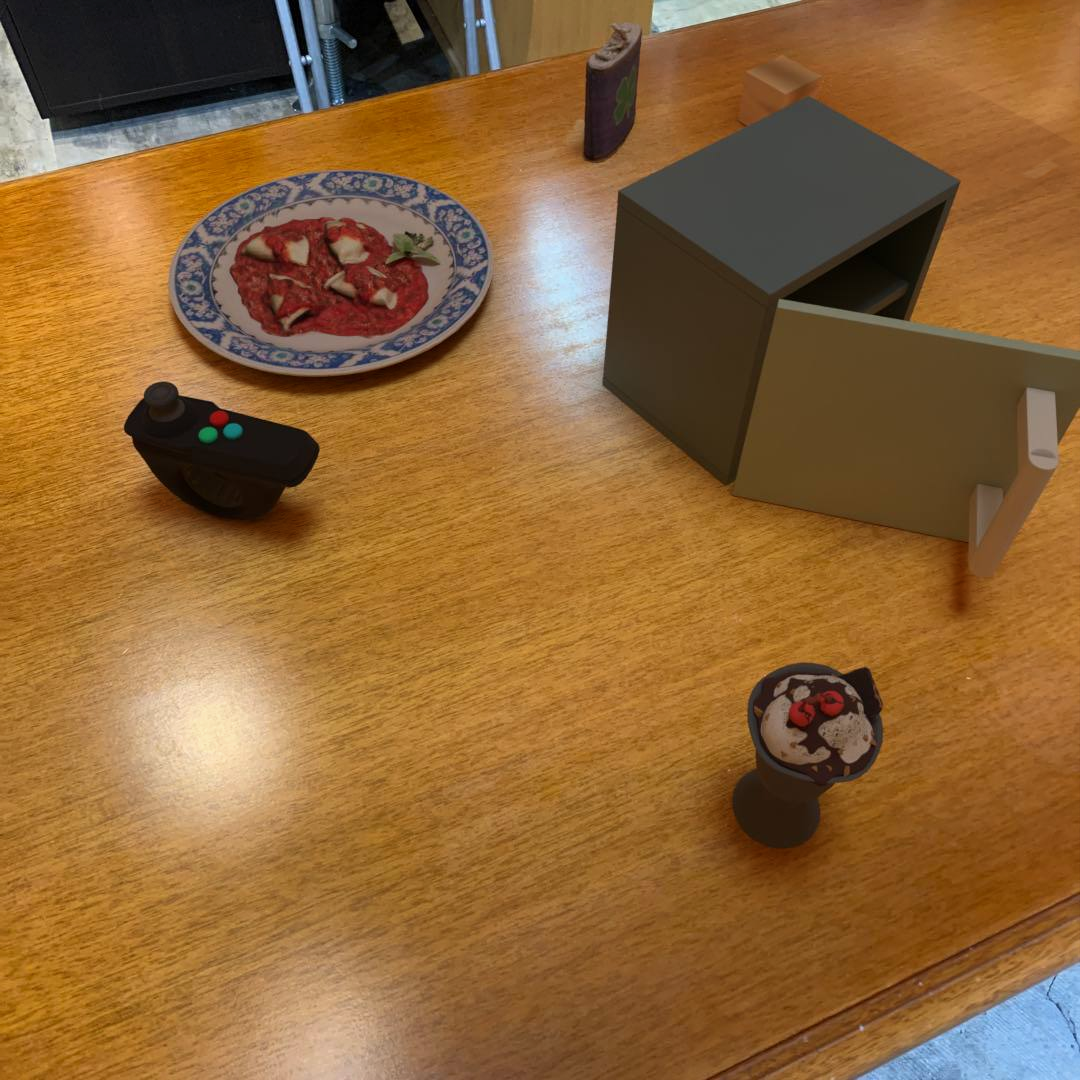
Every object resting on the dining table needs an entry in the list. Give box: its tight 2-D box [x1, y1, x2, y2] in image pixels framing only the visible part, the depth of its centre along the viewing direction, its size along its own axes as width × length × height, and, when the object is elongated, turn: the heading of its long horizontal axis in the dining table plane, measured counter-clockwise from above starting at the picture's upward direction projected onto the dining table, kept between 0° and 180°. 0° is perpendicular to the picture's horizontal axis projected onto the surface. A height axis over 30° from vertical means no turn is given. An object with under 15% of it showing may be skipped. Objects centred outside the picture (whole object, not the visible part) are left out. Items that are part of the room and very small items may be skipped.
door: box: [732, 299, 1080, 579], centre depth 66 cm, size 7×18×17 cm, turn 76°
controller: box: [123, 381, 321, 522], centre depth 70 cm, size 4×12×10 cm, turn 73°
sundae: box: [731, 661, 884, 850], centre depth 55 cm, size 7×7×15 cm
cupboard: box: [601, 96, 962, 487], centre depth 76 cm, size 13×18×17 cm
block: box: [737, 54, 822, 127], centre depth 102 cm, size 5×5×5 cm
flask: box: [582, 21, 643, 163], centre depth 98 cm, size 9×3×11 cm, turn 155°
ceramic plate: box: [167, 169, 494, 378], centre depth 87 cm, size 26×26×3 cm
